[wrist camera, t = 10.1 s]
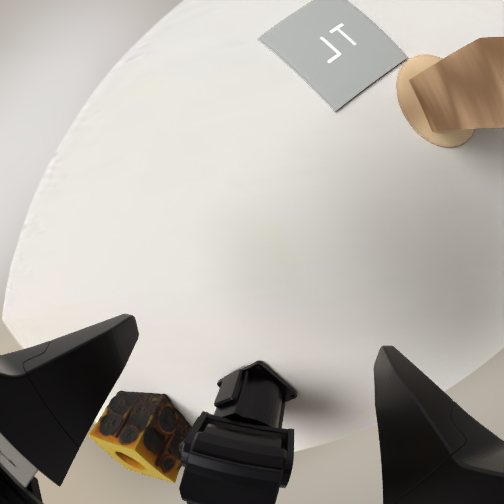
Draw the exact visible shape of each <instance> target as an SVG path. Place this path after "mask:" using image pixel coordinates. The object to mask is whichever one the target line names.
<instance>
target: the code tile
mask: <svg viewBox="0 0 504 504" xmlns="http://www.w3.org/2000/svg"><path fill="white" fill-rule="evenodd" d="M258 40H259V41H260V42H261V43H262V44H264V45H265V46H266V47H267V48H268V49H270V50H271V51H272V52H273V53H274V54H276V55H277V56H278V57H279V58H280V59H281V60H283V61H284V62H285V63H286V64H287V65H288V66H289V67H290V68H292V69H293V70H294V71H295V72H296V73H297V74H298V75H299V76H300V77H301V78H302V79H303V80H304V81H305V82H306V83H307V84H308V85H309V86H310V87H311V88H312V89H313V90H314V91H315V92H316V93H317V94H318V95H319V96H320V97H321V98H322V99H323V100H324V101H325V102H326V103H327V104H328V105H329V106H330V107H331V108H332V109H333V111H334V112H335V111H337V110H338V109H339V108H341V107H342V106H343V105H344V104H346V103H347V102H348V101H349V100H351V99H352V98H353V97H355V96H356V95H357V94H359V93H360V92H361V91H363V90H364V89H365V88H367V87H368V86H369V85H371V84H372V83H373V82H375V81H376V80H377V79H379V78H380V77H381V76H383V75H384V74H385V73H387V72H388V71H390V70H391V69H392V68H394V67H395V66H397V65H398V64H399V63H401V62H402V61H404V60H405V59H407V58H408V57H407V56H406V55H405V54H404V53H403V52H402V50H401V49H400V48H399V47H398V46H397V45H396V44H395V43H394V42H393V41H392V40H391V39H390V38H389V37H388V36H387V35H386V34H385V33H384V32H383V31H382V30H381V29H380V28H379V27H378V26H376V25H375V24H374V23H373V22H372V21H371V20H370V19H369V18H368V17H366V16H365V15H364V14H363V13H362V12H361V11H359V10H358V9H357V8H356V7H354V6H353V5H352V4H351V3H349V2H348V1H347V0H313V1H311V2H310V3H308V4H307V5H305V6H303V7H302V8H300V9H299V10H297V11H296V12H294V13H293V14H291V15H290V16H288V17H287V18H285V19H284V20H282V21H281V22H279V23H278V24H277V25H275V26H274V27H272V28H271V29H270V30H268V31H267V32H266V33H264V34H263V35H262V36H260V37H259V38H258Z"/></svg>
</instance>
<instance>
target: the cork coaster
mask: <svg viewBox="0 0 504 504" xmlns="http://www.w3.org/2000/svg"><path fill="white" fill-rule="evenodd" d="M440 60H442V58H440V57H437V56H433V55H418V56H415V57H413V58H411V59H410V60H408V61H407V62H406V63H405V64H404V65H403V66H402V68H401V70H400V72H399V74H398V78H397V96H398V100H399V104H400V107H401V109H402V111H403V113H404V115H405V117H406V119H407V120H408V122H409V123H410V125H411V126H412V127H413V128H414V130H415V131H416V132H417V133H418V134H419V135H421V136H422V137H423V138H424V139H426V140H427V141H429V142H431V143H433V144H435V145H438V146H443V147H456V146H459V145H461V144H463V143H465V142H466V141H467V140H468V139H469V138H470V137H471V136H472V134H473V132H474V130H475V129H461V130H447V131H436V132H432V130H431V128H430V125H429V123H428V120H427V118H426V116H425V114H424V111H423V109H422V107H421V105H420V103H419V100H418V98H417V96H416V94H415V92H414V90H413V88H412V86H411V84H410V82H409V81H408V80H410V79H411V78H413V77H414V76H416V75H418V74H419V73H421V72H422V71H424V70H426V69H427V68H429V67H430V66H432V65H434V64H435V63H437V62H439V61H440Z"/></svg>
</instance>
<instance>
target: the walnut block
mask: <svg viewBox="0 0 504 504" xmlns="http://www.w3.org/2000/svg"><path fill="white" fill-rule="evenodd" d="M408 81H409V82H410V84H411V86H412V88H413V90H414V92H415V94H416V96H417V98H418V100H419V103H420V105H421V107H422V109H423V111H424V114H425V116H426V118H427V120H428V123H429V125H430V128H431V130H432V132H436V131H447V130H461V129H479V128H504V37H487V38H479V39H477V40H475V41H474V42H472V43H470V44H468V45H466V46H465V47H463V48H461V49H459V50H458V51H456V52H454V53H452V54H451V55H449V56H447V57H445V58H444V59H442V60H440V61H439V62H437V63H435V64H434V65H432V66H430V67H429V68H427V69H426V70H424V71H422V72H421V73H419V74H418V75H416V76H414V77H413V78H411V79H410V80H408Z"/></svg>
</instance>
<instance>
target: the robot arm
mask: <svg viewBox="0 0 504 504" xmlns="http://www.w3.org/2000/svg"><path fill="white" fill-rule="evenodd" d="M138 337H139V332H138V328H137V324H136V320H135V317H134V316H133V315H129V314H122V315H119V316H117V317H114V318H111V319H109V320H106V321H103V322H101V323H98V324H95V325H92V326H90V327H87V328H84V329H81V330H79V331H76V332H73V333H70V334H68V335H65V336H62V337H59V338H57V339H54V340H52V341H48V342H45V343H42V344H39V345H36V346H33V347H30V348H27V349H23V350H19V351H16V352H12V353H8V354H5V355H0V504H43V502H42V498H41V493H40V489H39V484H38V480H37V478H35V477H34V476H35V474H36V473H37V471H38V470H39V471H40V472H41V473H43V474H44V475H45V476H46V477H48V478H49V479H50V480H51V481H53V482H54V483H55V484H57V485H58V486H61V484H62V482H63V480H64V478H65V476H66V474H67V472H68V470H69V468H70V466H71V464H72V462H73V460H74V458H75V456H76V454H77V452H78V450H79V447H80V446H81V444H82V442H83V440H84V438H85V437H86V435H87V433H88V431H89V429H90V427H91V425H92V424H93V422H94V420H95V418H96V416H97V415H98V413H99V411H100V409H101V407H102V406H103V404H104V402H105V400H106V399H107V397H108V395H109V393H110V392H111V390H112V388H113V386H114V385H115V383H116V381H117V380H118V378H119V376H120V374H121V373H122V371H123V369H124V367H125V365H126V363H127V361H128V359H129V357H130V355H131V352H132V350H133V348H134V346H135V344H136V342H137V340H138ZM258 366H260V367H258ZM374 382H375V407H376V416H377V423H378V432H379V441H380V452H381V464H382V480H383V504H504V441H503V440H501V439H500V438H498V437H497V436H496V435H495V434H493V433H492V432H491V431H489V430H488V429H486V428H485V427H484V426H482V425H481V424H480V423H479V422H478V421H476V420H475V419H474V418H473V417H471V416H470V415H469V414H468V413H467V412H465V411H464V410H463V409H462V408H461V407H460V406H459V405H458V404H457V403H456V402H454V401H453V400H452V399H451V398H450V397H449V396H448V395H447V394H446V393H445V392H444V391H442V390H441V389H440V388H439V387H438V386H437V385H436V384H435V383H434V382H433V381H432V380H430V379H429V378H428V377H427V376H426V375H425V374H424V373H423V372H422V371H420V370H419V369H418V368H417V367H416V366H415V365H414V364H413V363H412V362H410V361H409V360H408V359H407V358H406V357H405V356H404V355H403V354H401V353H400V352H399V351H398V350H397V349H396V348H395V347H393V346H382V347H381V348H380V350H379V353H378V356H377V359H376V361H375V364H374ZM217 385H218V386H219V387H220V389H219V392H218V395H217V397H216V400H215V402H214V406H215V407H217V408H216V411H215V413H214V415H212V414H209V413H208V412H204V411H203V412H202V414H201V415H200V417H198V418H197V420H196V422H195V423H194V425H193V427H192V428H191V430H190V432H189V433H188V435H187V437H186V438H185V439H184V440H183V441H182V442H181V444H180V445H179V450H180V452H181V465H182V466H183V467H185V470H184V474H183V477H182V481H181V484H180V488H179V489H180V494H181V497H182V500H184V501H187V504H275V502H276V498H277V495H278V491H279V487H280V488H285V487H286V486H287V484H288V481H289V478H290V475H291V471H292V466H293V458H294V429H282V422H283V416H284V408H285V402H287V401H289V400H292V399H294V398H296V397H297V392H296V391H295V390H294V389H293V388H291V387H290V386H289V385H288V384H287V383H285V382H284V381H283V380H282V379H281V378H280V377H278V376H277V375H276V374H275V373H274V372H273V371H271V370H270V369H269V368H268V367H267V366H266V365H265V364H263V363H262V362H260V361H257V362H255V363H253V364H251V365H249V366H247V367H245V368H243V369H239V370H237V371H235V372H233V373H231V374H229V375H227V376H225V377H224V378H223V379H220V380H219V381H218V383H217Z"/></svg>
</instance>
